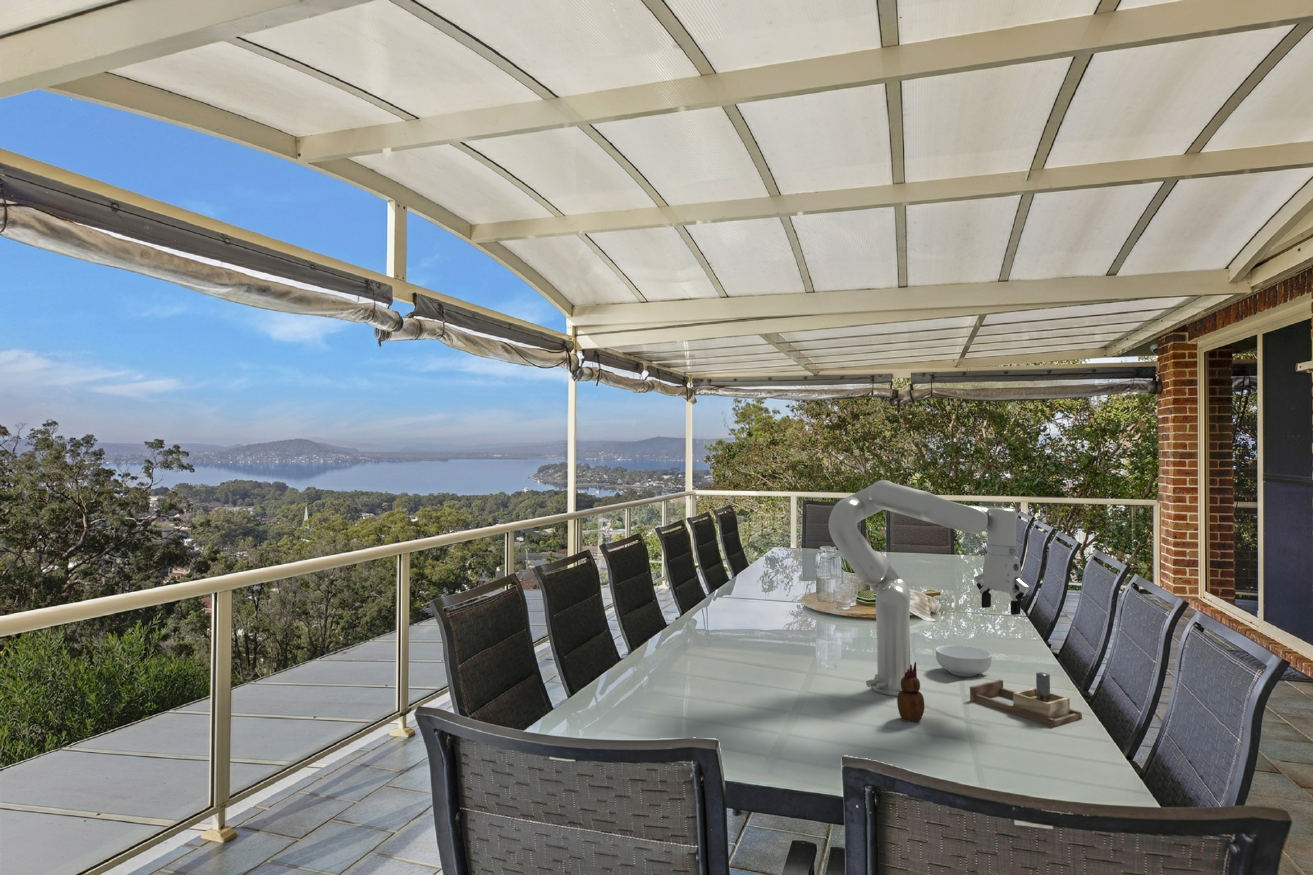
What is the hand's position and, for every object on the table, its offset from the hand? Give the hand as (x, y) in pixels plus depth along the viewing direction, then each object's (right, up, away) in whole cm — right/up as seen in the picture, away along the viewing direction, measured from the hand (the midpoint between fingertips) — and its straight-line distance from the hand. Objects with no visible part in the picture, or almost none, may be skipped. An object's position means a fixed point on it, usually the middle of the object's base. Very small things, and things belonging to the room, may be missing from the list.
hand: (1000, 610), depth 211 cm
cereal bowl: (0, -27, +26) cm, 37 cm away
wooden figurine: (-31, -26, -15) cm, 43 cm away
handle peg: (+4, -23, -16) cm, 28 cm away
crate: (+4, -24, -15) cm, 29 cm away
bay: (+1, -25, -11) cm, 28 cm away
